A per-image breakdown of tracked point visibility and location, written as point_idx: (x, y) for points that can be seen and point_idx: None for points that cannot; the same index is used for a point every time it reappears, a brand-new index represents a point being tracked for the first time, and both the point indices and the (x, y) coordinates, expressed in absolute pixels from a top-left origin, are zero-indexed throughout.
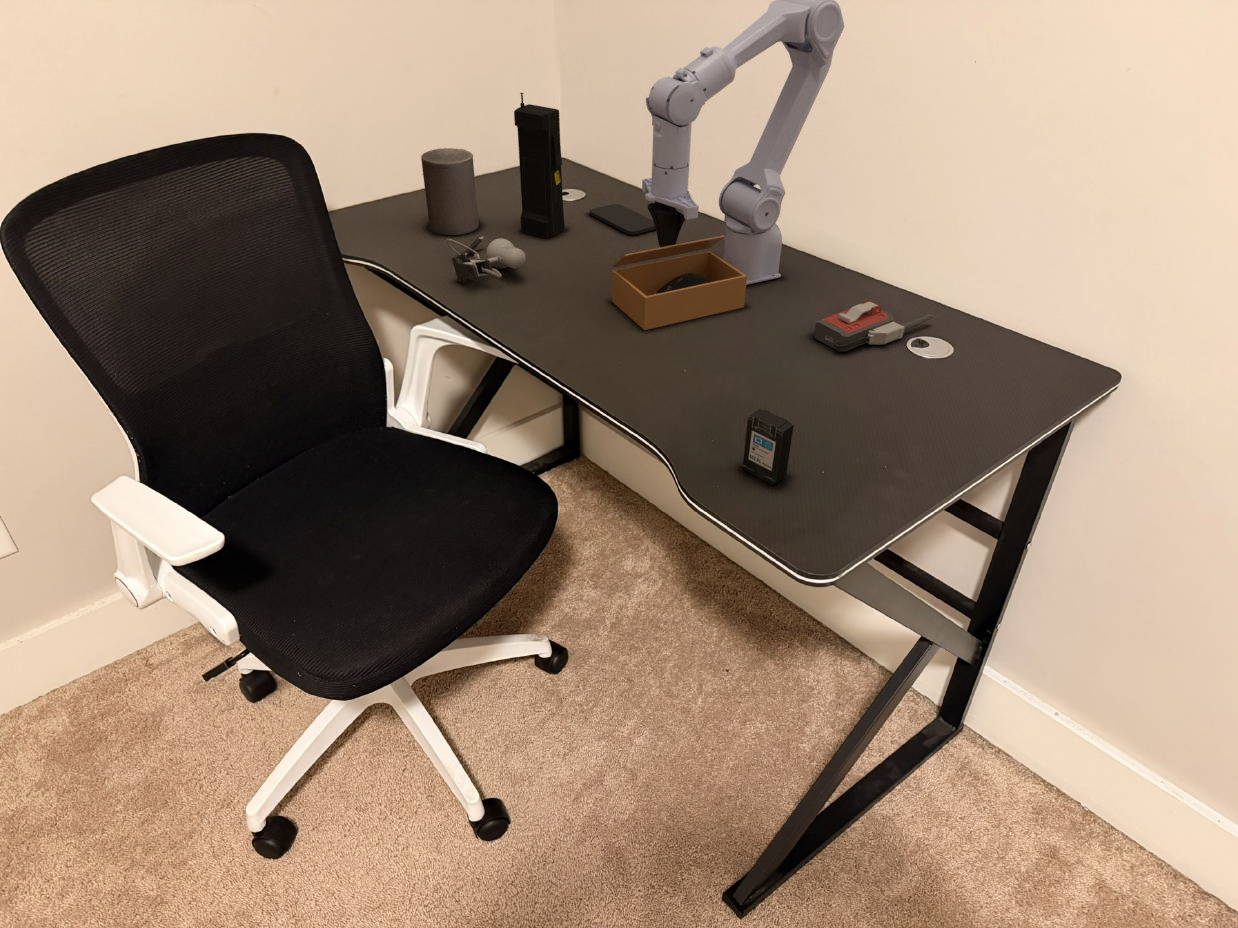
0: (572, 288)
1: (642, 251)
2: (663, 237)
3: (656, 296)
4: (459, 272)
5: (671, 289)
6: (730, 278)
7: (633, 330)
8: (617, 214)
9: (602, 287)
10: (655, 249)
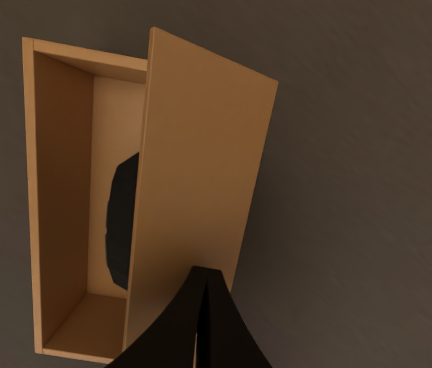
0: (377, 60)
1: (141, 142)
2: (173, 299)
3: (25, 82)
4: None
5: (133, 196)
6: (39, 317)
7: (104, 45)
8: None
9: (329, 127)
10: (135, 211)
